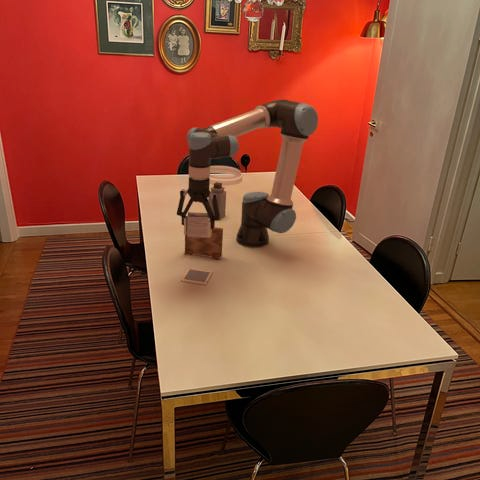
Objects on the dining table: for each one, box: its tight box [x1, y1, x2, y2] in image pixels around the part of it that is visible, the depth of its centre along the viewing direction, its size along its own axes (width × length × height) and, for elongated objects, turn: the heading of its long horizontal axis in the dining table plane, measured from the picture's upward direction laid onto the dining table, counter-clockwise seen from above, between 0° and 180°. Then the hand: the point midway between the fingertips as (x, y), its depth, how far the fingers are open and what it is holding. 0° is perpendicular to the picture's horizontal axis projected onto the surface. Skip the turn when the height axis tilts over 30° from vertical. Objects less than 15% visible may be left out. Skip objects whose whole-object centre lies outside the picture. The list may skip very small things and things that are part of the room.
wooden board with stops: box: [184, 226, 224, 260], centre depth 200 cm, size 16×5×13 cm, turn 79°
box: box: [187, 211, 210, 238], centre depth 175 cm, size 8×4×9 cm, turn 92°
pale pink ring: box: [209, 165, 243, 187], centre depth 301 cm, size 27×27×6 cm
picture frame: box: [180, 267, 213, 286], centre depth 184 cm, size 10×10×1 cm
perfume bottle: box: [208, 182, 227, 221], centre depth 239 cm, size 7×7×18 cm
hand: (197, 234), depth 177 cm, fingers closed on box, 9 cm apart
